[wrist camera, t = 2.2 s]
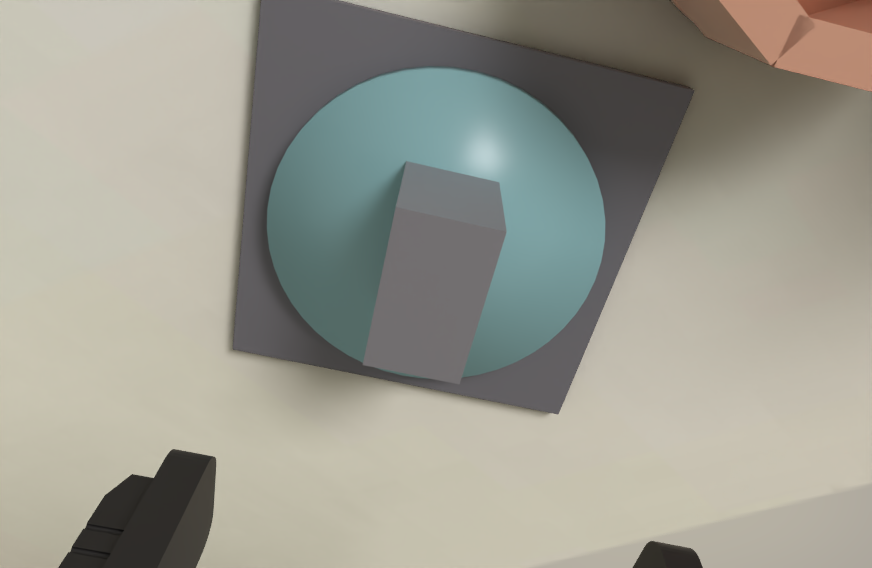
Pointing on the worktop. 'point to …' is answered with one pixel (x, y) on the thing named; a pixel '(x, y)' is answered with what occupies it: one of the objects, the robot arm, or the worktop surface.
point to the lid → (436, 223)
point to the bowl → (794, 34)
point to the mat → (441, 46)
